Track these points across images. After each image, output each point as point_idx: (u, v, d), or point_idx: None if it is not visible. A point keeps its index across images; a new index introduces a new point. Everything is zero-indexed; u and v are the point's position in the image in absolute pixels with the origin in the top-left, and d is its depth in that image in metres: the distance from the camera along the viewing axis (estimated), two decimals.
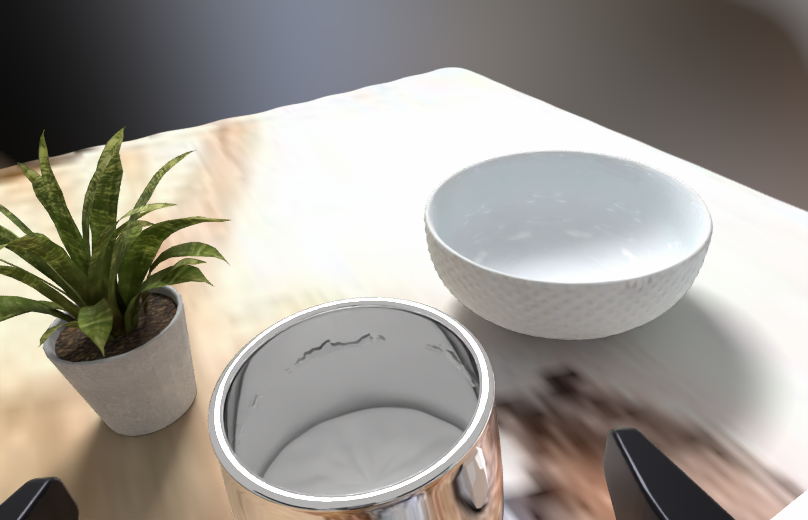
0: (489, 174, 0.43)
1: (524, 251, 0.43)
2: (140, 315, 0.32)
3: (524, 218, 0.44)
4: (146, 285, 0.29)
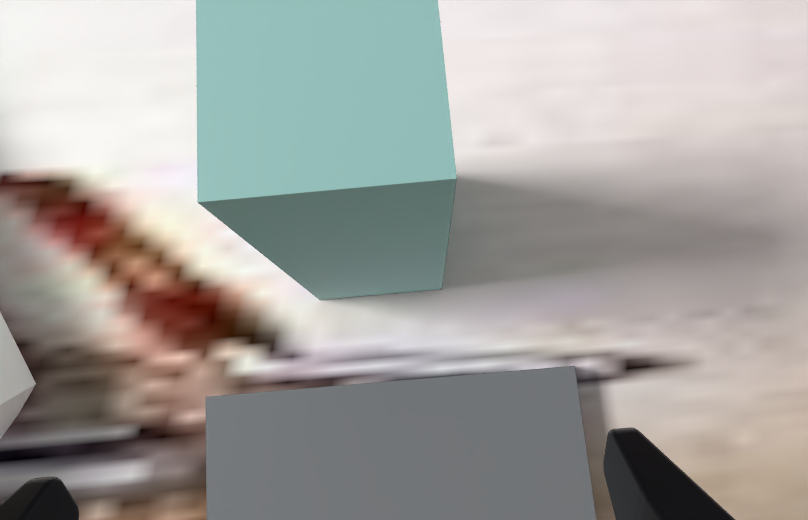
0: None
1: None
2: None
3: None
4: None
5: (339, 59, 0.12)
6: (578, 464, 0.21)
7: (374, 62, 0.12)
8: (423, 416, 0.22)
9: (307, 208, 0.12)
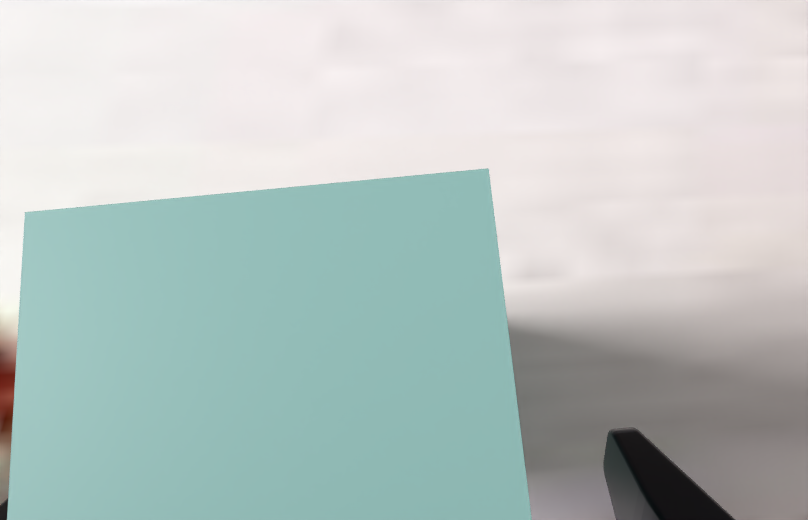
0: None
1: None
2: None
3: None
4: None
5: (304, 405, 0.06)
6: None
7: (374, 413, 0.06)
8: None
9: None
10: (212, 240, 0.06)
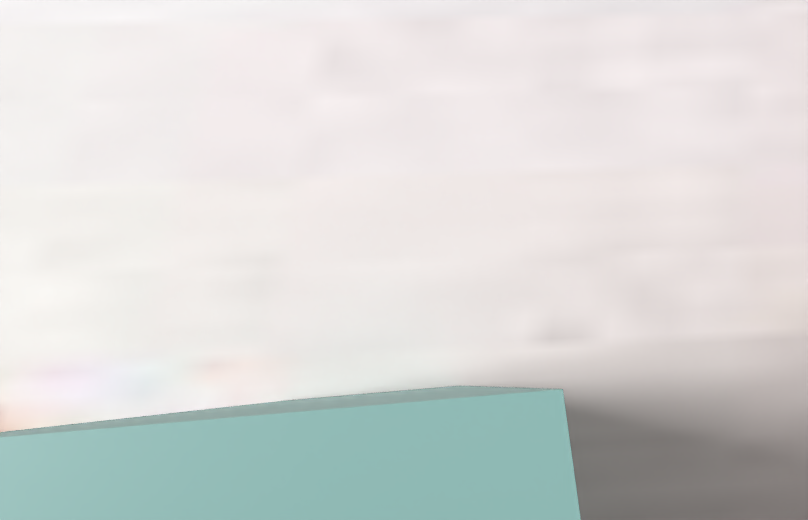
0: None
1: None
2: None
3: None
4: None
5: None
6: None
7: None
8: None
9: None
10: (103, 511, 0.04)
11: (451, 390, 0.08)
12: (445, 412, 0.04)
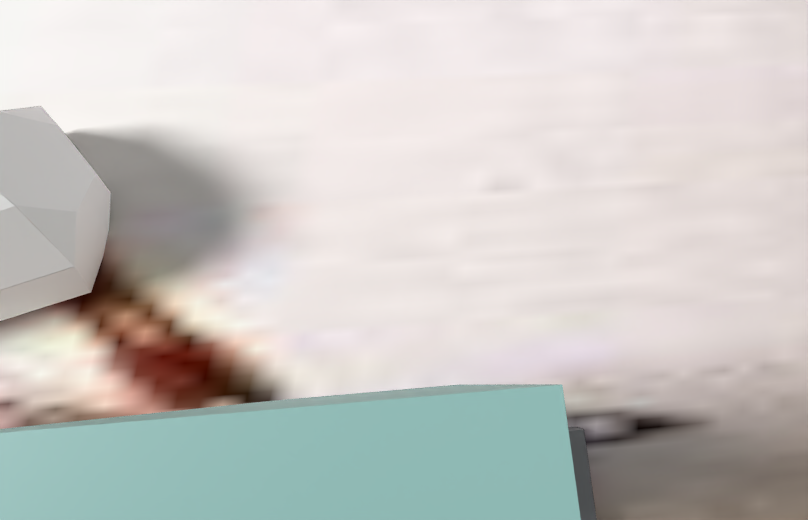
0: None
1: None
2: None
3: None
4: None
5: None
6: None
7: None
8: None
9: None
10: (102, 509, 0.04)
11: (451, 388, 0.08)
12: (444, 408, 0.04)
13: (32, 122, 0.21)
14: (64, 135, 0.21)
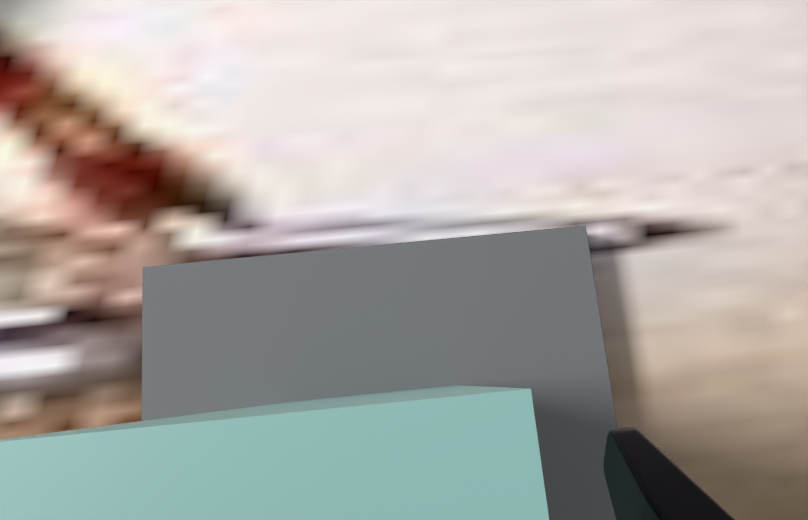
0: None
1: None
2: None
3: None
4: None
5: None
6: (590, 338, 0.18)
7: None
8: (403, 286, 0.18)
9: None
10: (171, 490, 0.05)
11: (447, 390, 0.09)
12: (438, 408, 0.05)
13: None
14: None
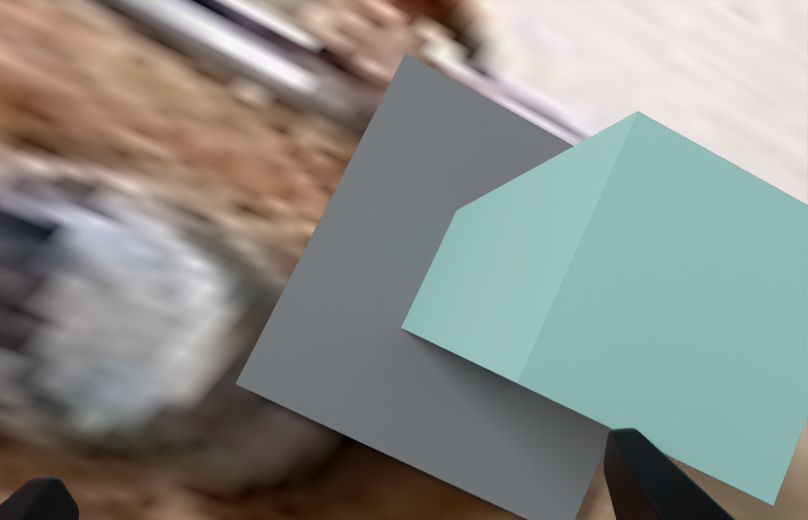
0: None
1: None
2: None
3: None
4: None
5: (731, 307, 0.10)
6: None
7: (761, 331, 0.10)
8: None
9: None
10: (726, 192, 0.10)
11: None
12: None
13: None
14: None
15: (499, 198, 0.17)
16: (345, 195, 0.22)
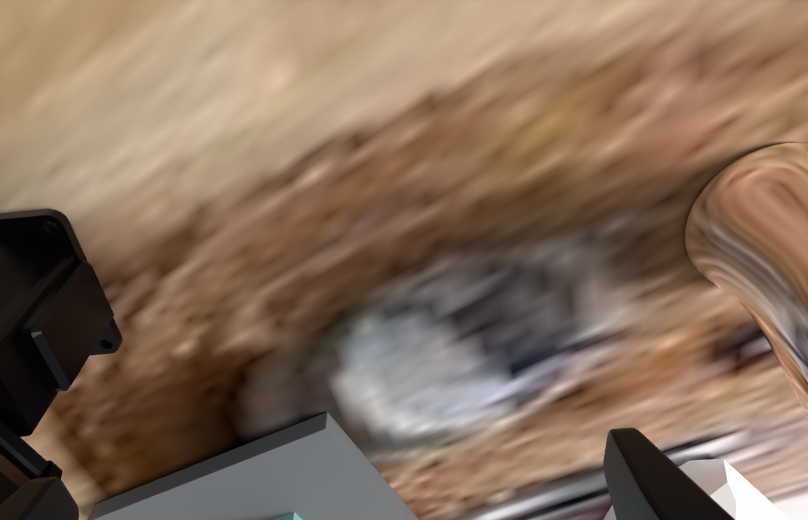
0: None
1: None
2: None
3: None
4: None
5: None
6: None
7: None
8: None
9: None
10: None
11: None
12: None
13: None
14: None
15: None
16: None
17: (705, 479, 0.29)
